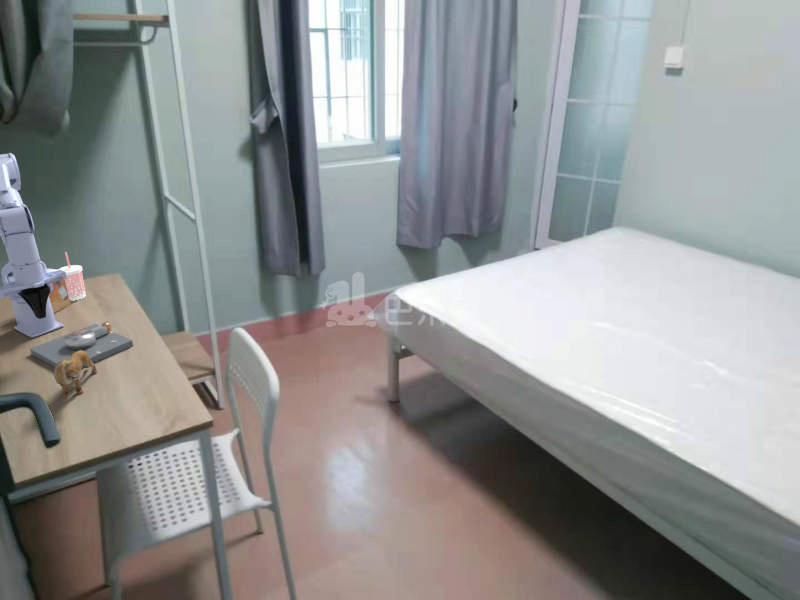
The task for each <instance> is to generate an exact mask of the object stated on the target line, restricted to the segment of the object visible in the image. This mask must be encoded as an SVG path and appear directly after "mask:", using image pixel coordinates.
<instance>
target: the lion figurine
mask: <svg viewBox="0 0 800 600" xmlns="http://www.w3.org/2000/svg"><path fill="white" fill-rule="evenodd" d="M82 365H86V366H85V368H86V369H89V368H91V372H90V373H91V374H92V375H95V374H97V373H98V370H97V368H96V364H95V363H92V361H91V360H90V357H89V355H88V354H87V352H85V351H82V350H80V351H77V352H75V353H73V354H72V355H71V357H70V359H69V360H68V361H66V360H64V361H61V362H59V363H58V364H57V365H56V366H55V367H54V369H53V374H54V376H53V377H54V379H55V383H56V384H58V385H60V386H61V389H62V390H63V393H62V397H63V398H65V397H66V398H67V397H69V396H70V390H69V388H68V387H71V386H73V385H75V392H76V394H77V395H83V393H84V390H83V388H82V386H81V378H80V377H81V371H82V369H83V368H82Z"/></svg>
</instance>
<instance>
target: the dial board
mask: <svg viewBox="0 0 800 600" xmlns="http://www.w3.org/2000/svg"><path fill="white" fill-rule="evenodd" d="M97 326H100V325H99V324H96V323H93V324H91V325H89V326H86V327H83V328H81V329H78V330H77V331H79V330H91V329H93V328H95V327H97ZM68 334H69V333H68ZM68 334H64V335H62V336H59V337H57V338H54V339H52V340H49V341H47V342H44V343H42V344H41V343H40V344H39V345H36V346H33V347H31V348H29V351H30V355H32V356H34V357H36V358H37V359H39V360H41V361H43V362H44V363H47V364H48V365H50V366H52V367H53V368H55V366H56V365H57V364H58V363H59V362H61V361H64V360H66V361H68V360H69V359H70V357H71V355H72V354H73V353H75V352H77V351H80V350H82V351H85V352H87V354H88V355H89V357H90V360H91V361H92V363H94V362H95V363H97V362H99V361H101V359H102V360H104V359H106V358H109V357H110V356H113V355H116V354H117V353H120V352H123V351H124V350H126V349H129V348H131V347H133V346H134V343H133V340H132V339H131V338H128V337H125V336H123V335H122V334H119V333H117V332H116V331H115V332H114V331H112V330H111V332H109V333H107V334H104V335H102V336H100V337H98V338H96V343H95V344H93V345H92V346H90V347H87V348H84V349H79V350H71V349H68V348H67V347H66V344H65V340H64V338H65V336H67V335H68ZM95 363H94V364H95ZM84 368H86V365H82V369H84Z"/></svg>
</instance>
